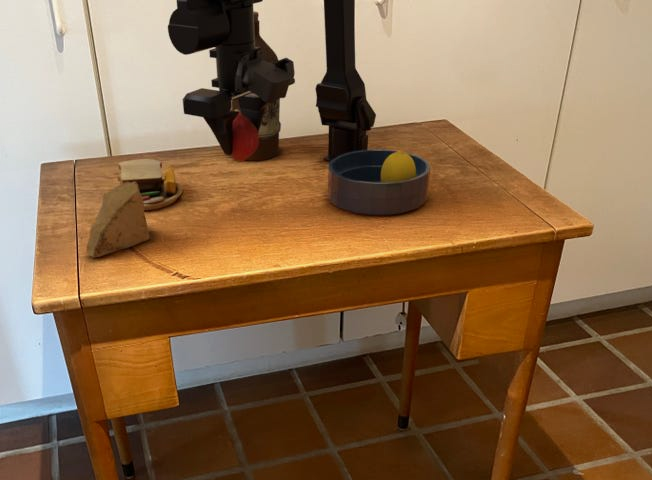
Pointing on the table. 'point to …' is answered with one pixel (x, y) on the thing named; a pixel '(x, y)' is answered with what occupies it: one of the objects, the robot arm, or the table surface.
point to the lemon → (398, 168)
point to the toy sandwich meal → (150, 182)
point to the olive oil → (271, 115)
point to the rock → (118, 221)
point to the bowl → (375, 184)
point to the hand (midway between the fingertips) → (240, 149)
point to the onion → (244, 138)
